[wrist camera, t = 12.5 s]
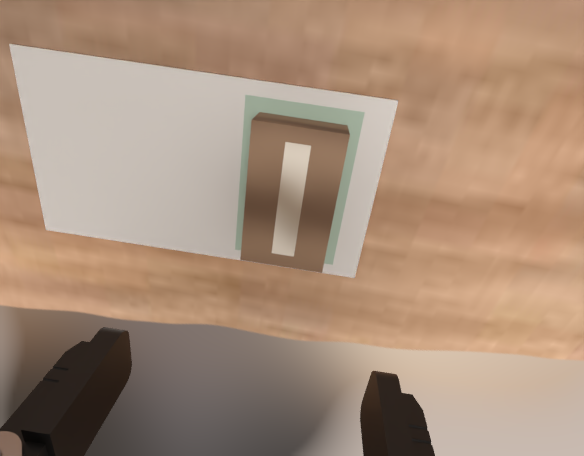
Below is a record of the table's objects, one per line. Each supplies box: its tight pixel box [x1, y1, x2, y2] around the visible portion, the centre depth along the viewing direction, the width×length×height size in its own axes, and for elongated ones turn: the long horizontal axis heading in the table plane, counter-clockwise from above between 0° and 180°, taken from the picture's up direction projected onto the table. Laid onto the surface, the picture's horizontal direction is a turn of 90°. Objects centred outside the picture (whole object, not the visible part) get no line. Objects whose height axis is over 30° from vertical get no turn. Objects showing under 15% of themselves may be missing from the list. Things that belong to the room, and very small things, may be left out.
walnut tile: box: [240, 112, 350, 273], centre depth 26 cm, size 10×6×3 cm, turn 172°
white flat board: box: [9, 44, 398, 278], centre depth 27 cm, size 26×14×1 cm, turn 83°
